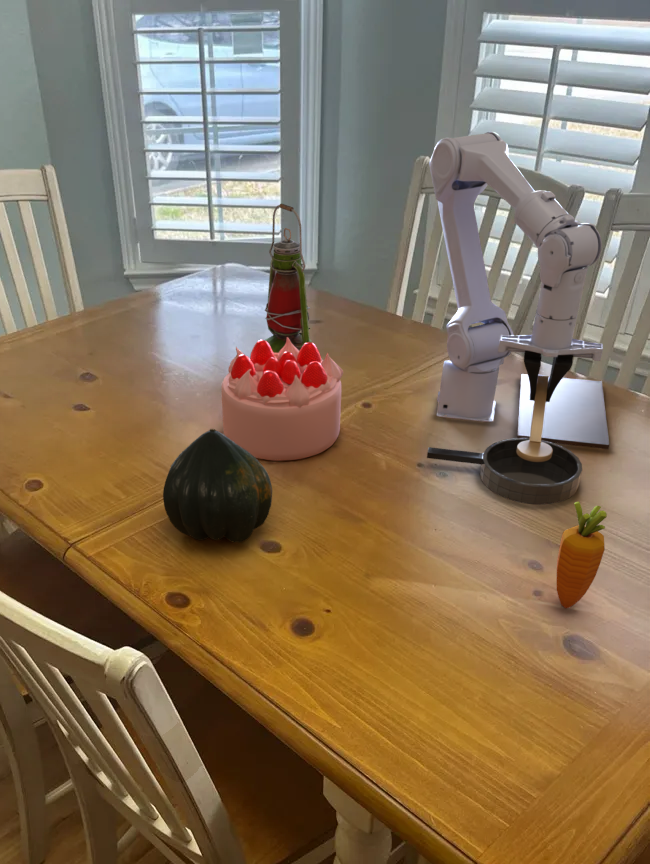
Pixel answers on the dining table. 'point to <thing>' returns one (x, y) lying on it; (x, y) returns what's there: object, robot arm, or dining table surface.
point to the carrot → (579, 556)
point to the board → (568, 413)
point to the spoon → (537, 428)
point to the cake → (282, 401)
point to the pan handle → (455, 455)
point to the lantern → (287, 292)
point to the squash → (217, 490)
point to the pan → (530, 473)
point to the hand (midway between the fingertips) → (539, 398)
